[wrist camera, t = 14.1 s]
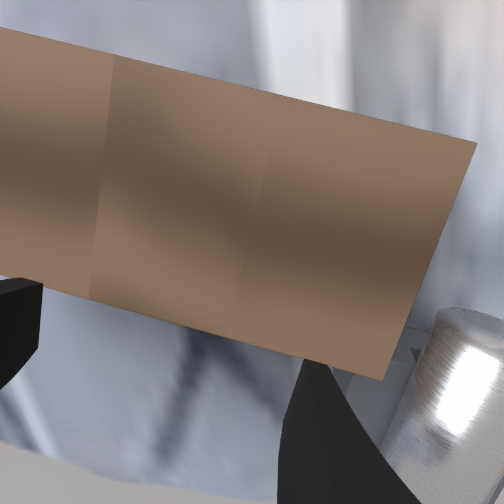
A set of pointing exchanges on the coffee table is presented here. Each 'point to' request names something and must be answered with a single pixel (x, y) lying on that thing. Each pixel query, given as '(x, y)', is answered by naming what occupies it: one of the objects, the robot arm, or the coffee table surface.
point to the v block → (386, 390)
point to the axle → (452, 413)
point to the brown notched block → (218, 202)
